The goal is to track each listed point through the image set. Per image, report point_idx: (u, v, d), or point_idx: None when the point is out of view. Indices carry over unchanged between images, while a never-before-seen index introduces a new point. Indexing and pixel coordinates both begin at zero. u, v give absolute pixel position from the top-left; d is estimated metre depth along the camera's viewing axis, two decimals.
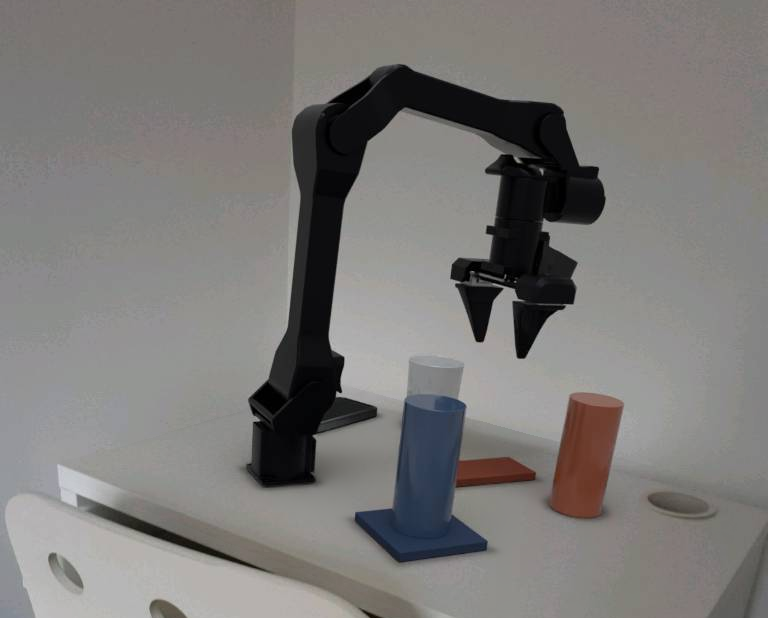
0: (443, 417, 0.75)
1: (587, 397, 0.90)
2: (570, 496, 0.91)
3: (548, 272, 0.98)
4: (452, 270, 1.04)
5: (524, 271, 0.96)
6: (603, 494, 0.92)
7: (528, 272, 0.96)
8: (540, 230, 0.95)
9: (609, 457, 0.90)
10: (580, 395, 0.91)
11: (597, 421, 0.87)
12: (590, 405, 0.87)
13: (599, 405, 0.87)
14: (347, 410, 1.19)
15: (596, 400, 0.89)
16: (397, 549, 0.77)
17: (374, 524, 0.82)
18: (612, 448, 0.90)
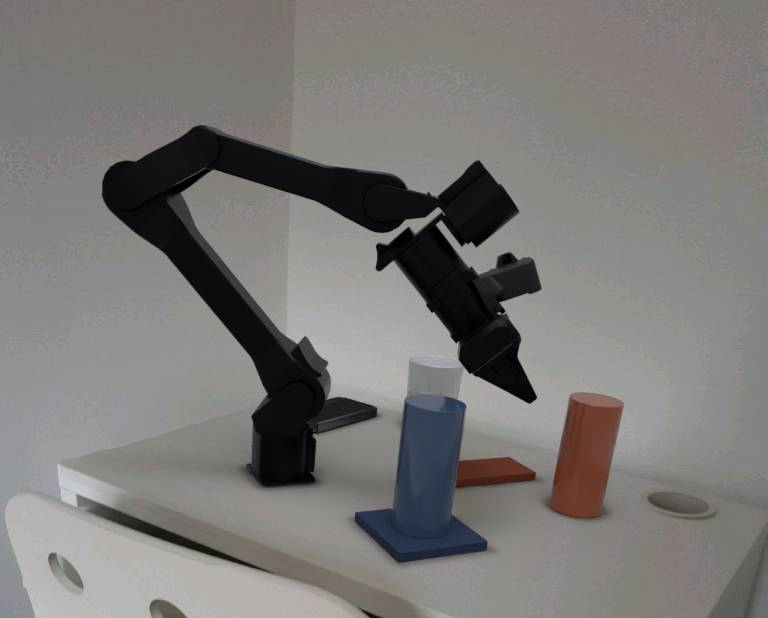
0: (443, 417, 0.75)
1: (587, 397, 0.90)
2: (570, 496, 0.91)
3: (504, 299, 0.84)
4: None
5: (473, 324, 0.84)
6: (603, 494, 0.92)
7: (478, 321, 0.84)
8: (459, 276, 0.83)
9: (609, 457, 0.90)
10: (580, 395, 0.91)
11: (597, 421, 0.87)
12: (590, 405, 0.87)
13: (599, 405, 0.87)
14: (347, 410, 1.19)
15: (596, 400, 0.89)
16: (397, 549, 0.77)
17: (374, 524, 0.82)
18: (612, 448, 0.90)
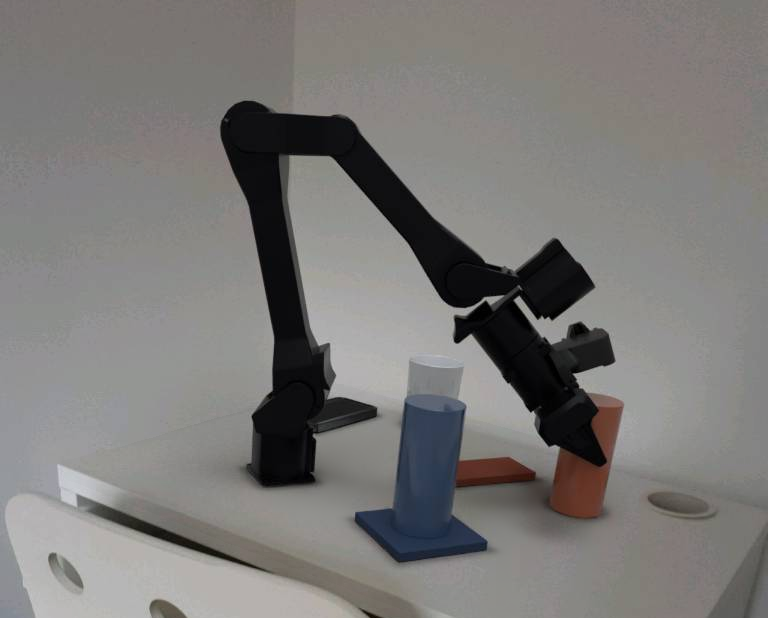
0: (443, 417, 0.75)
1: None
2: (570, 496, 0.91)
3: (578, 371, 0.86)
4: None
5: (548, 395, 0.87)
6: (603, 494, 0.92)
7: (553, 392, 0.87)
8: (535, 349, 0.86)
9: (609, 457, 0.90)
10: None
11: (597, 421, 0.87)
12: None
13: (599, 405, 0.87)
14: (347, 410, 1.19)
15: (596, 400, 0.89)
16: (397, 549, 0.77)
17: (374, 524, 0.82)
18: (612, 448, 0.90)
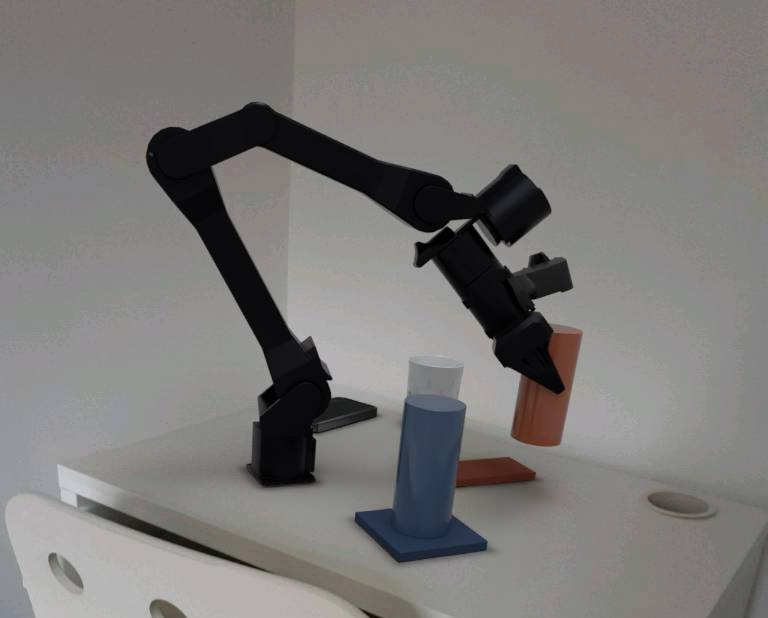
0: (443, 417, 0.75)
1: None
2: (529, 425, 0.92)
3: (537, 297, 0.87)
4: None
5: (507, 320, 0.88)
6: (562, 423, 0.93)
7: (512, 317, 0.88)
8: (494, 275, 0.87)
9: (568, 386, 0.91)
10: None
11: (555, 347, 0.89)
12: None
13: (557, 331, 0.88)
14: (347, 410, 1.19)
15: (555, 328, 0.90)
16: (397, 549, 0.77)
17: (374, 524, 0.82)
18: (571, 376, 0.91)
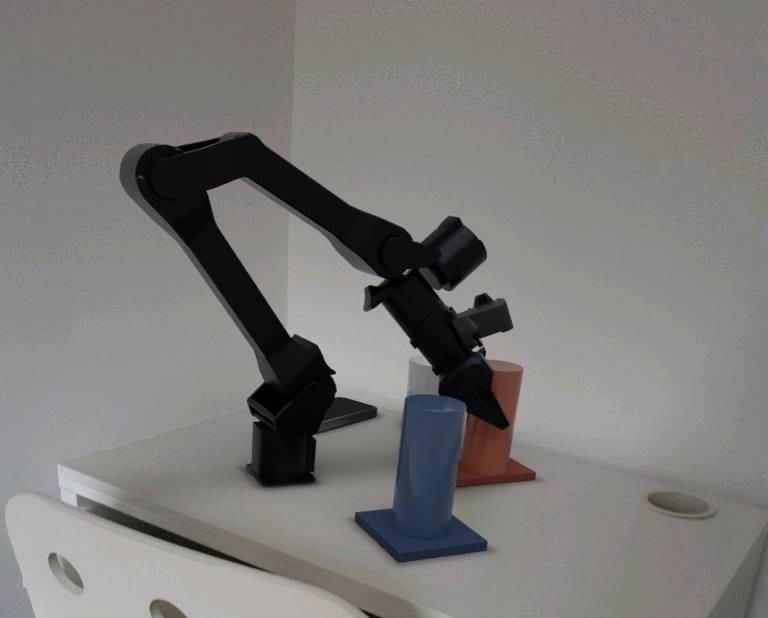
0: (443, 417, 0.75)
1: (490, 363, 0.97)
2: (475, 456, 0.98)
3: (479, 337, 0.93)
4: None
5: (452, 359, 0.94)
6: (507, 454, 0.99)
7: (457, 356, 0.94)
8: (439, 317, 0.93)
9: (510, 419, 0.97)
10: None
11: (497, 384, 0.94)
12: None
13: (499, 369, 0.94)
14: (347, 410, 1.19)
15: (498, 366, 0.96)
16: (397, 549, 0.77)
17: (374, 524, 0.82)
18: (513, 410, 0.97)
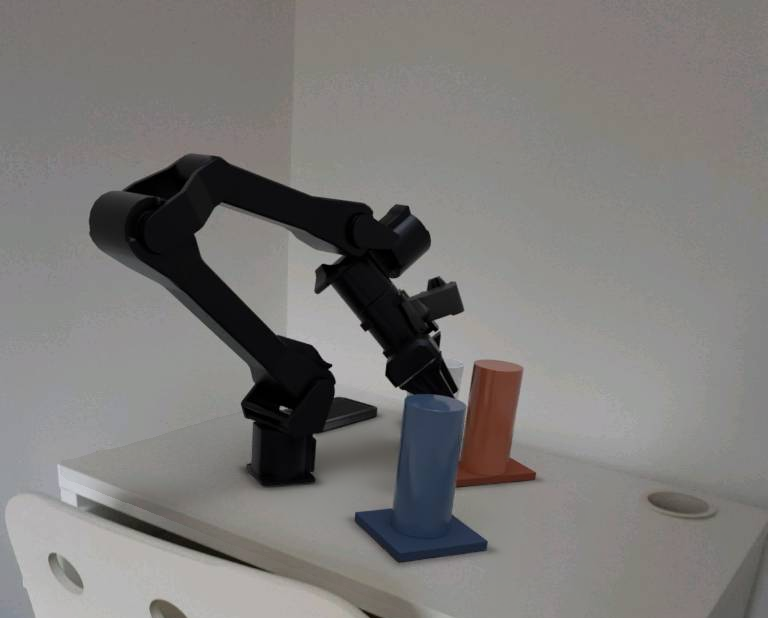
0: (443, 417, 0.75)
1: (490, 363, 0.97)
2: (475, 456, 0.98)
3: (429, 320, 0.93)
4: None
5: (402, 342, 0.93)
6: (507, 454, 0.99)
7: (407, 339, 0.93)
8: (389, 299, 0.92)
9: (510, 419, 0.97)
10: (484, 361, 0.98)
11: (497, 384, 0.94)
12: (490, 369, 0.94)
13: (499, 369, 0.94)
14: (347, 410, 1.19)
15: (498, 366, 0.96)
16: (397, 549, 0.77)
17: (374, 524, 0.82)
18: (513, 410, 0.97)
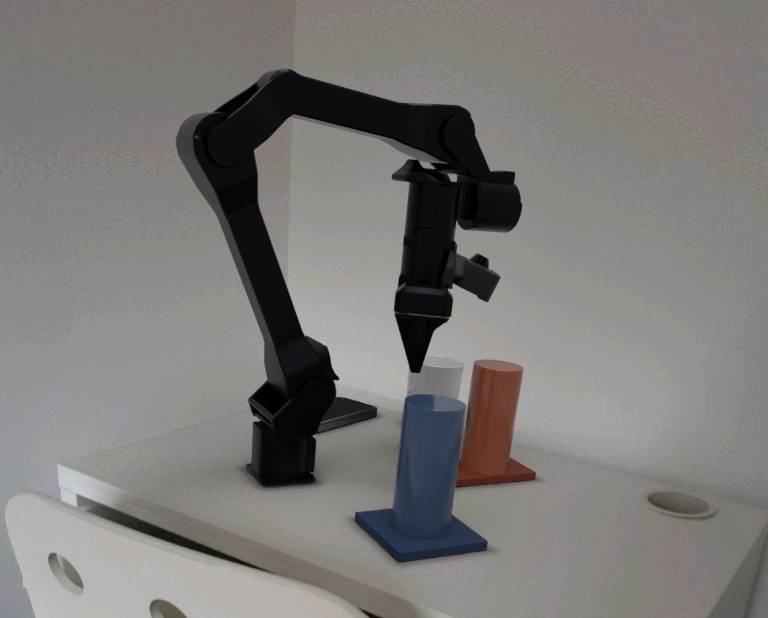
0: (443, 417, 0.75)
1: (490, 363, 0.97)
2: (475, 456, 0.98)
3: (458, 284, 0.91)
4: None
5: (423, 281, 0.91)
6: (507, 454, 0.99)
7: (428, 282, 0.91)
8: (443, 239, 0.90)
9: (510, 419, 0.97)
10: (484, 361, 0.98)
11: (497, 384, 0.94)
12: (490, 369, 0.94)
13: (499, 369, 0.94)
14: (347, 410, 1.19)
15: (498, 366, 0.96)
16: (397, 549, 0.77)
17: (374, 524, 0.82)
18: (513, 410, 0.97)
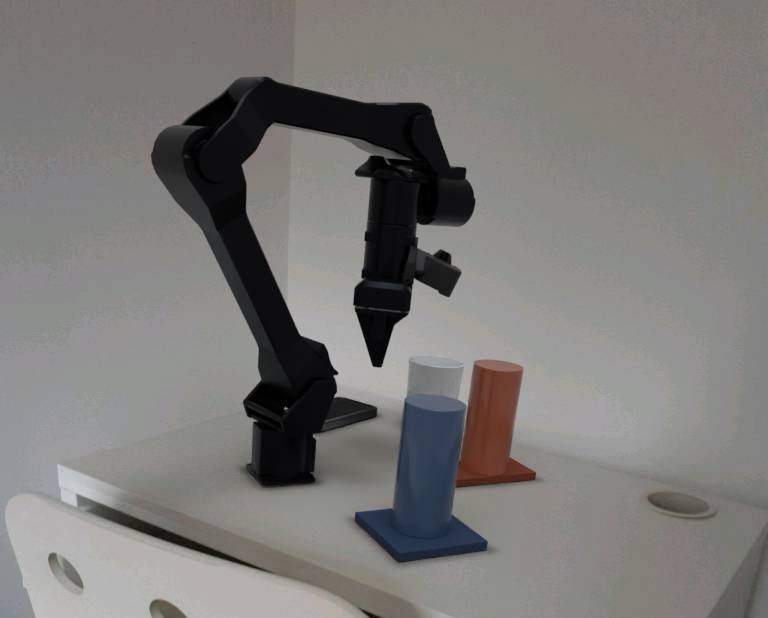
0: (443, 417, 0.75)
1: (490, 363, 0.97)
2: (475, 456, 0.98)
3: (419, 279, 0.92)
4: None
5: (384, 276, 0.92)
6: (507, 454, 0.99)
7: (390, 277, 0.92)
8: (404, 234, 0.91)
9: (510, 419, 0.97)
10: (484, 361, 0.98)
11: (497, 384, 0.94)
12: (490, 369, 0.94)
13: (499, 369, 0.94)
14: (347, 410, 1.19)
15: (498, 366, 0.96)
16: (397, 549, 0.77)
17: (374, 524, 0.82)
18: (513, 410, 0.97)
